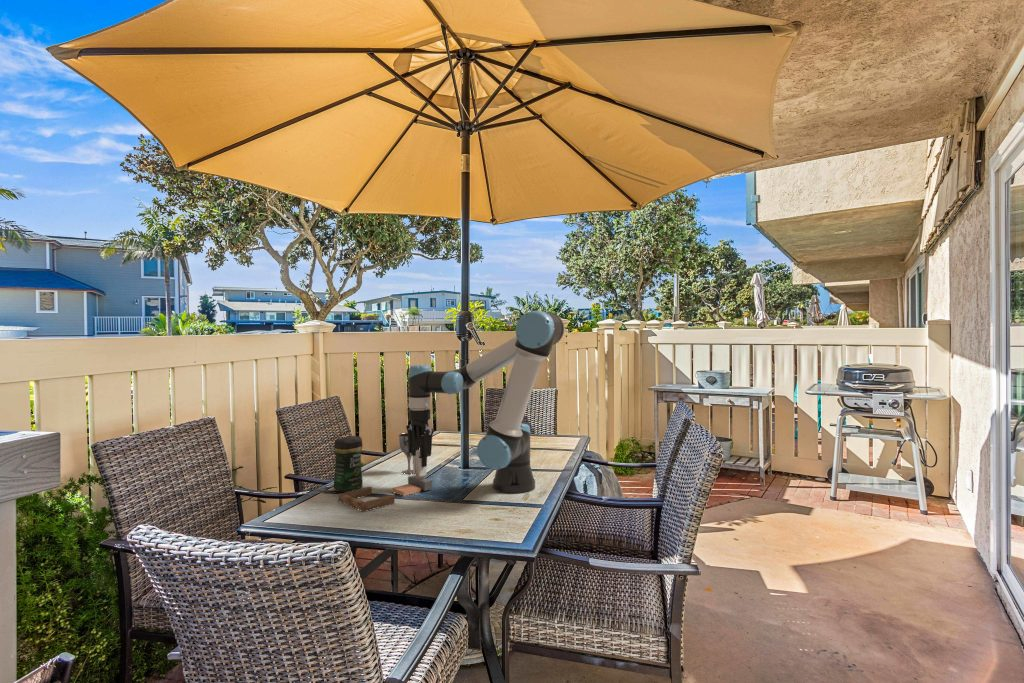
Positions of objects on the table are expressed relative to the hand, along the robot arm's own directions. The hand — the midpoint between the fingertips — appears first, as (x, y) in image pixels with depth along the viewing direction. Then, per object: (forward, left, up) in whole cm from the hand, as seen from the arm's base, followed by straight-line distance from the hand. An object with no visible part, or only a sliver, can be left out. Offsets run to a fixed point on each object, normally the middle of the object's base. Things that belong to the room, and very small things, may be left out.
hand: (419, 474), depth 194 cm
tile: (0, +6, -6) cm, 8 cm away
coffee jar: (+18, +18, -5) cm, 26 cm away
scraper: (0, 0, -5) cm, 5 cm away
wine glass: (+21, -10, -5) cm, 24 cm away
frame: (0, +21, -5) cm, 21 cm away
